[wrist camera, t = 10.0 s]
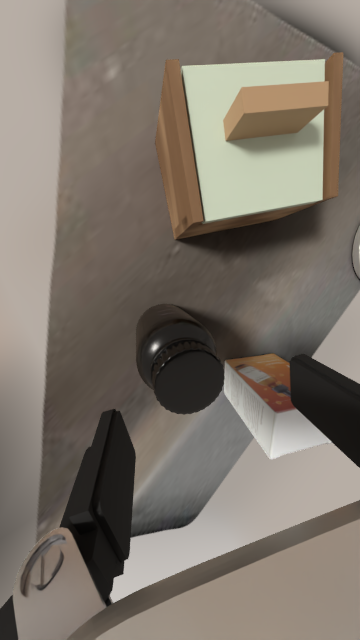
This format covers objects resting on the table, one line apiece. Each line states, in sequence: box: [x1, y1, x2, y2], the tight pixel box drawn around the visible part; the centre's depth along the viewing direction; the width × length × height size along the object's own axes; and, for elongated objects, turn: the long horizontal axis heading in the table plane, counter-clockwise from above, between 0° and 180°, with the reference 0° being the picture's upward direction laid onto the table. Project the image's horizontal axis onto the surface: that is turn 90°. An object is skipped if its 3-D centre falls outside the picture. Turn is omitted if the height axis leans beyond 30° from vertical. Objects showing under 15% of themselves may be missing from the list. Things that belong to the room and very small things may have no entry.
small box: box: [224, 353, 332, 459], centre depth 23 cm, size 8×6×10 cm
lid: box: [181, 59, 329, 224], centre depth 13 cm, size 11×9×3 cm
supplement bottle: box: [136, 304, 225, 414], centre depth 17 cm, size 7×7×12 cm
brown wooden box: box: [155, 53, 343, 240], centre depth 17 cm, size 13×9×7 cm
